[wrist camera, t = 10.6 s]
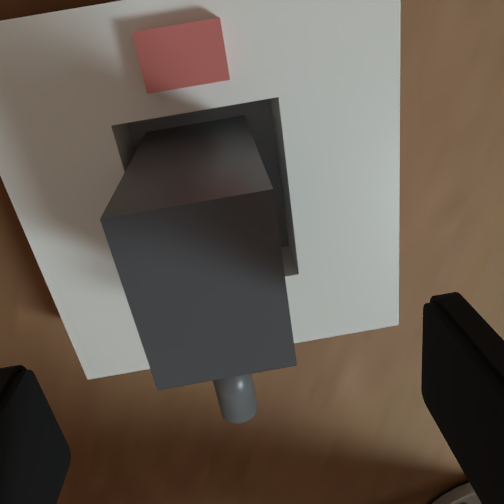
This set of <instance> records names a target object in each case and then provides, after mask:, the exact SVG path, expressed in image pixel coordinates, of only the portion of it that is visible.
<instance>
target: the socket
mask: <svg viewBox="0 0 504 504" xmlns="http://www.w3.org/2000/svg"><path fill="white" fill-rule="evenodd" d="M243 115H244V116H245V118H246V121H247V123H248V126H249V129H250V131H251V134H252V136H253V139H254V141H255V144H256V147H257V149H258V152H259V154H260V157H261V159H262V162H263V165H264V167H265V170H266V172H267V175H268V177H269V180H270V182H271V185H272V188H273V192H274V200H275V207H276V214H277V222H278V229H279V237H280V244H281V252H282V259H283V266H284V274H285V281H286V289H287V296H288V303H289V311H290V318H291V326H292V333H293V340H294V343H299V342H305V341H310V340H316V339H322V338H327V337H333V336H339V335H344V334H350V333H356V332H361V331H367V330H373V329H378V328H384V327H390V326H395V325H399V171H400V0H121V1H115V2H109V3H103V4H97V5H91V6H85V7H79V8H73V9H67V10H61V11H55V12H49V13H43V14H37V15H31V16H25V17H20V18H14V19H8V20H2V21H0V176H1V179H2V181H3V183H4V186H5V188H6V190H7V193H8V195H9V197H10V200H11V202H12V204H13V207H14V209H15V211H16V214H17V216H18V218H19V221H20V223H21V225H22V228H23V230H24V232H25V235H26V237H27V239H28V242H29V244H30V246H31V249H32V251H33V253H34V256H35V258H36V260H37V263H38V265H39V267H40V270H41V272H42V274H43V277H44V279H45V281H46V284H47V286H48V288H49V291H50V293H51V295H52V298H53V300H54V302H55V305H56V307H57V309H58V312H59V314H60V316H61V319H62V321H63V323H64V326H65V328H66V330H67V333H68V335H69V337H70V340H71V342H72V344H73V347H74V349H75V351H76V354H77V356H78V358H79V361H80V363H81V365H82V368H83V370H84V372H85V375H86V377H87V379H88V380H89V379H95V378H100V377H106V376H112V375H118V374H123V373H129V372H135V371H140V370H146V369H150V366H149V363H148V360H147V357H146V354H145V351H144V349H143V346H142V343H141V340H140V337H139V334H138V331H137V328H136V325H135V322H134V319H133V316H132V313H131V310H130V307H129V304H128V301H127V298H126V295H125V292H124V289H123V286H122V283H121V280H120V277H119V274H118V271H117V269H116V266H115V263H114V260H113V257H112V254H111V251H110V248H109V245H108V242H107V239H106V236H105V233H104V230H103V227H102V224H101V221H100V218H101V216H102V214H103V212H104V210H105V209H106V207H107V205H108V203H109V201H110V199H111V197H112V195H113V194H114V192H115V190H116V188H117V186H118V184H119V182H120V180H121V179H122V177H123V175H124V173H125V171H126V169H127V167H128V165H129V164H130V162H131V160H132V158H133V156H134V154H135V152H136V150H137V148H138V147H139V145H140V143H141V141H142V139H143V137H144V135H145V133H146V132H150V131H156V130H161V129H167V128H173V127H179V126H185V125H190V124H196V123H202V122H208V121H214V120H220V119H225V118H231V117H237V116H243Z"/></svg>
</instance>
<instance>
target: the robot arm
mask: <svg viewBox="0 0 504 504" xmlns="http://www.w3.org/2000/svg"><path fill="white" fill-rule="evenodd" d="M422 395H423V399H424V402H425V404H426V406H427V408H428V410H429V411H430V413H431V415H432V417H433V418H434V420H435V422H436V424H437V425H438V427H439V429H440V431H441V433H442V434H443V436H444V438H445V440H446V441H447V443H448V445H449V447H450V449H451V450H452V452H453V454H454V456H455V457H456V459H457V461H458V463H459V464H460V466H461V468H462V470H463V472H464V473H465V475H466V477H467V479H468V480H469V482H468V483H466V484H463V485H461V486H458V487H456V488H454V489H452V490H451V491H449V492H447V493H445V494H444V495H442V496H441V497H439V498H438V499H437V500H435V501H434V502H433V503H432V504H504V340H503V339H502V338H501V337H500V336H499V335H498V334H497V333H496V332H495V331H494V330H493V329H492V328H491V326H490V325H489V324H488V323H487V322H486V321H485V320H484V319H483V318H482V317H481V316H480V315H479V314H478V313H477V311H476V310H475V309H474V308H473V307H472V306H471V305H470V304H469V303H468V302H467V301H466V300H465V299H464V298H463V297H462V295H461V294H459V293H457V292H454V293H448V294H442V295H436V296H432V297H431V299H430V303H426V304H424V307H423V344H422ZM70 459H71V453H70V449H69V446H68V444H67V442H66V440H65V437H64V435H63V433H62V431H61V429H60V427H59V425H58V423H57V421H56V418H55V416H54V414H53V412H52V410H51V408H50V406H49V404H48V402H47V399H46V397H45V395H44V393H43V391H42V389H41V387H40V385H39V383H38V380H37V378H36V376H35V374H34V373H33V371H31V370H26V368H25V367H24V366H22V365H17V366H11V367H6V368H0V504H56V503H57V500H58V497H59V494H60V491H61V488H62V485H63V482H64V479H65V476H66V473H67V471H68V468H69V464H70Z"/></svg>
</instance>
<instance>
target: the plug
mask: <svg viewBox="0 0 504 504" xmlns="http://www.w3.org/2000/svg"><path fill="white" fill-rule="evenodd" d="M100 221H101V224H102V227H103V230H104V233H105V236H106V239H107V242H108V245H109V248H110V251H111V254H112V257H113V260H114V263H115V266H116V269H117V271H118V274H119V277H120V280H121V283H122V286H123V289H124V292H125V295H126V298H127V301H128V304H129V307H130V310H131V313H132V316H133V319H134V322H135V325H136V328H137V331H138V334H139V337H140V340H141V343H142V346H143V349H144V351H145V354H146V357H147V360H148V363H149V366H150V369H151V372H152V375H153V378H154V381H155V384H156V387H157V390H162V389H167V388H173V387H178V386H184V385H190V384H195V383H201V382H207V381H212V380H213V382H214V386H215V390H216V394H217V398H218V402H219V406H220V410H221V414H222V416H223V418H224V419H225V420H226V421H228V422H230V423H234V424H240V423H244V422H247V421H249V420H250V419H251V418H253V417H254V415H255V414H256V412H257V409H258V404H257V399H256V394H255V389H254V384H253V379H252V373H257V372H263V371H268V370H274V369H280V368H285V367H291V366H296V365H297V363H296V355H295V348H294V340H293V333H292V326H291V318H290V311H289V303H288V296H287V289H286V281H285V274H284V266H283V259H282V252H281V244H280V237H279V229H278V222H277V214H276V207H275V200H274V192H273V188H272V185H271V182H270V180H269V177H268V175H267V172H266V170H265V167H264V165H263V162H262V159H261V157H260V154H259V152H258V149H257V147H256V144H255V141H254V139H253V136H252V134H251V131H250V129H249V126H248V123H247V121H246V118H245V116H244V115H243V116H237V117H231V118H225V119H220V120H214V121H208V122H202V123H196V124H190V125H185V126H179V127H173V128H167V129H161V130H156V131H150V132H146V133H145V135H144V137H143V139H142V141H141V143H140V145H139V147H138V148H137V150H136V152H135V154H134V156H133V158H132V160H131V162H130V164H129V165H128V167H127V169H126V171H125V173H124V175H123V177H122V179H121V180H120V182H119V184H118V186H117V188H116V190H115V192H114V194H113V195H112V197H111V199H110V201H109V203H108V205H107V207H106V209H105V210H104V212H103V214H102V216H101V218H100Z"/></svg>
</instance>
